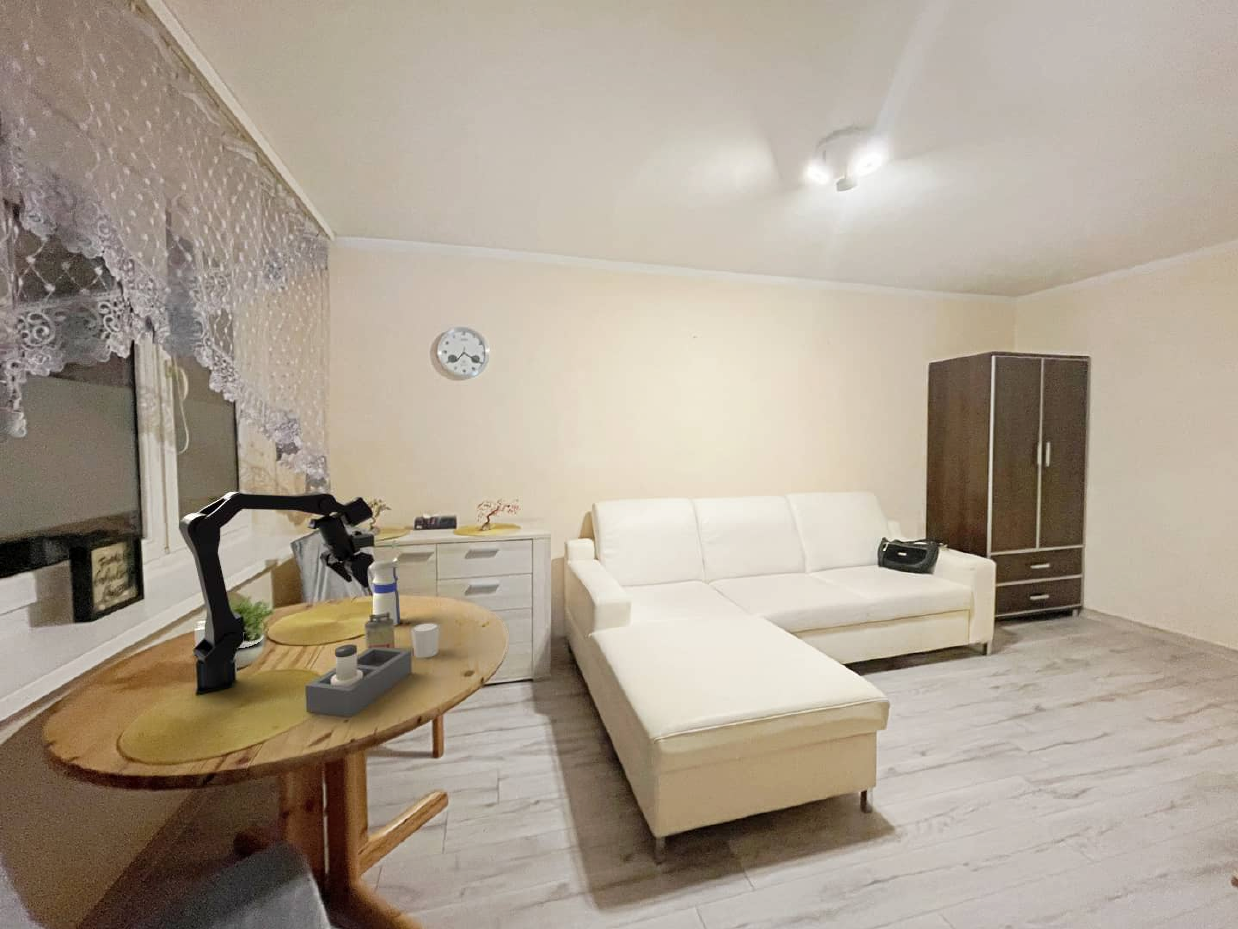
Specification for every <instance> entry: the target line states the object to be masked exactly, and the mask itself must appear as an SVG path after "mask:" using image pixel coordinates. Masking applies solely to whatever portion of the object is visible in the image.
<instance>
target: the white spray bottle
mask: <svg viewBox="0 0 1238 929" xmlns="http://www.w3.org/2000/svg"><path fill="white" fill-rule="evenodd" d="M389 544H390V545H391V550H394V549H395V550H398V546H399V542H396V540H395V539H393V541H392V542H389ZM374 560H375V561H374V562H373V563H372V565H370V566H369V568H368V569H370V570H373V572H374V578H373V580H372V583H373V590H374V591H373V594H372V615H379V614H385V613H387V612H390V618H391V619H393V621H394V627H395V626H397V625H399V624H400V623H401V611H400V595H399V591H398V580H399V577H398V576H397V573H396V569H398V568H399V567H400V566H399V561H398V560H399V559H398V558H396V557H394V559H393V560H392V561H391V562H386V561H385V559H384V558H381V557H380V558H376V559H375V558H374ZM382 619H387V618H382ZM373 620H376V619H373Z"/></svg>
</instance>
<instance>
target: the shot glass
mask: <svg viewBox="0 0 1238 929" xmlns="http://www.w3.org/2000/svg"><path fill="white" fill-rule="evenodd" d="M410 630H411V638H412V645H413V653H414V657H415V658H417V657H418V659H426V658H427V657H428V658H430V657H431V658H432V657H433V656H435V655H437V654H438V651H439V638H440V637H439V636H440V624H439V623H436V622H423V623H419V624H416V625H415V626H412V627H411V629H410Z"/></svg>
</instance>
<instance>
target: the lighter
mask: <svg viewBox="0 0 1238 929" xmlns="http://www.w3.org/2000/svg"><path fill="white" fill-rule="evenodd" d="M382 618H387V619H382ZM373 619H376V620H373ZM364 646H365V647H364V649H365V651H366V650H368V649H369V648H371V647H383V648H393V649H396V647H395V626H394V621H393V619H391V618H390V612H387V613H385V614H379V615H373V614H370V615H369V620H367V621H366V622H365V623H364Z"/></svg>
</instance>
